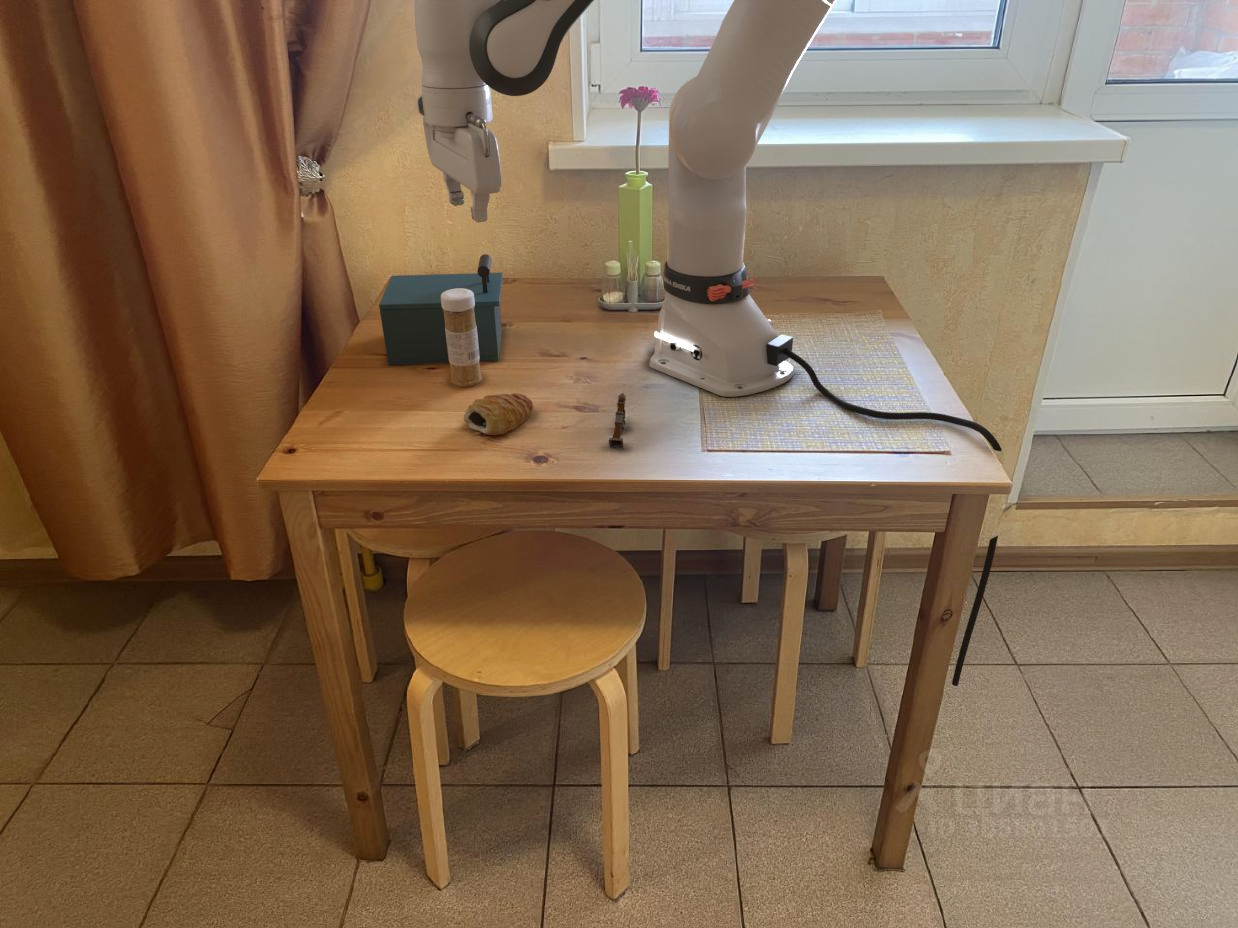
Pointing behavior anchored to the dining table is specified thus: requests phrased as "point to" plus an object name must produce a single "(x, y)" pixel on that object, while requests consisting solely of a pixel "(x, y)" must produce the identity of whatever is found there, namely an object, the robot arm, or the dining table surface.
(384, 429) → the dining table surface
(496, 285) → the lid
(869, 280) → the dining table surface
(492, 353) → the chest
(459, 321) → the sprinkles bottle
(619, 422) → the wooden post with brackets
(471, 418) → the pastry
